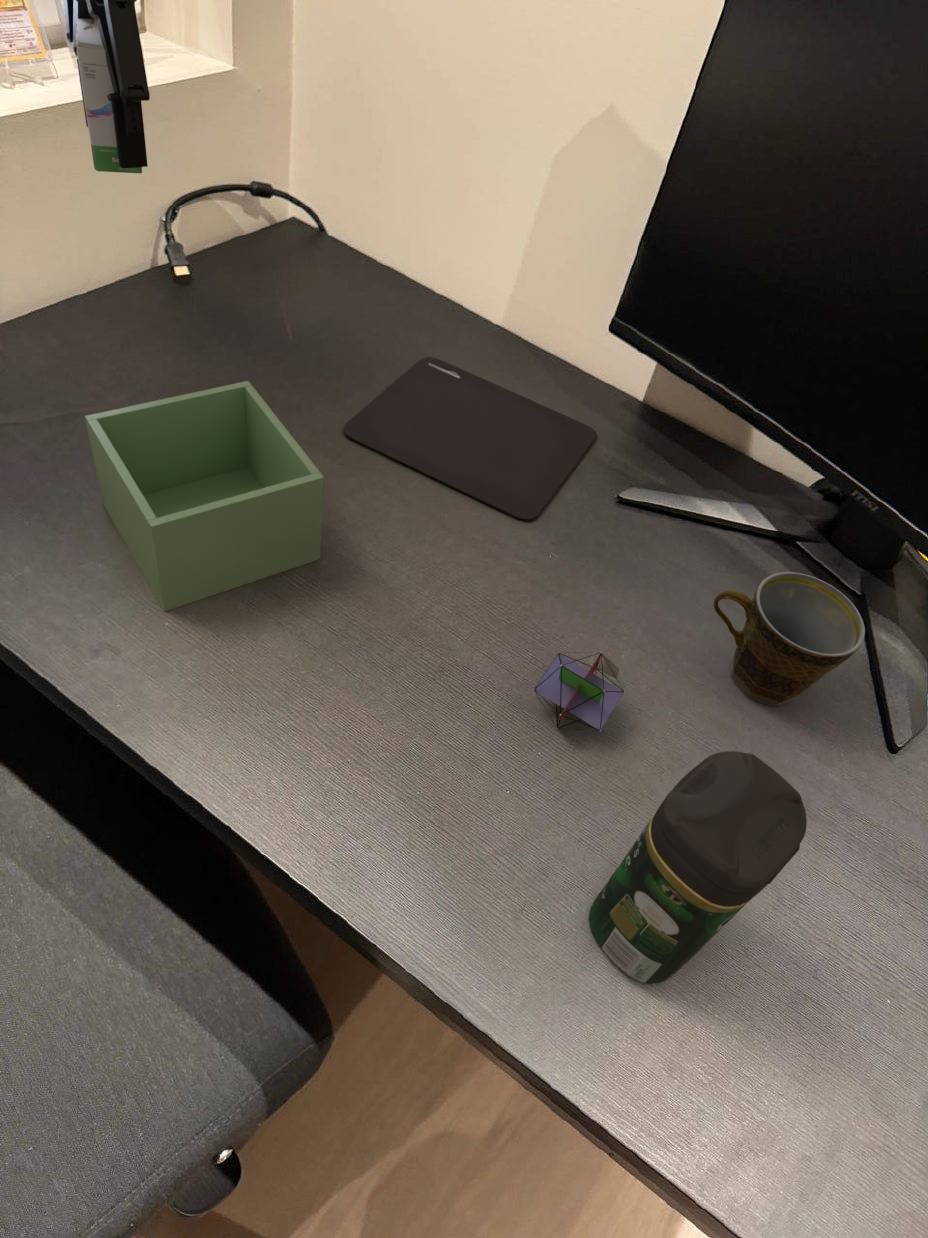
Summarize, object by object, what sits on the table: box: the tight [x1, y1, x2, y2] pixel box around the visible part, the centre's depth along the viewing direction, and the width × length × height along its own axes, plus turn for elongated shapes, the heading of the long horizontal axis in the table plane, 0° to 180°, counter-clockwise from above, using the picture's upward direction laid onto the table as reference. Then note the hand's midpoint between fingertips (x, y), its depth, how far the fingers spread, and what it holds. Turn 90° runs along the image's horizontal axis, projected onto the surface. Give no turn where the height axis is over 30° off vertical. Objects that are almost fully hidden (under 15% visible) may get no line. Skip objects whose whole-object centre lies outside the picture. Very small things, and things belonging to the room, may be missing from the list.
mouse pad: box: [342, 356, 597, 521], centre depth 100 cm, size 25×21×1 cm
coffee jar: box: [588, 750, 808, 985], centre depth 57 cm, size 10×8×19 cm
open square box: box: [84, 380, 325, 612], centre depth 79 cm, size 16×16×10 cm
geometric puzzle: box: [532, 651, 626, 732], centre depth 73 cm, size 7×7×8 cm
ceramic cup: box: [713, 571, 866, 708], centre depth 79 cm, size 13×10×10 cm
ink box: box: [76, 18, 143, 175], centre depth 87 cm, size 8×5×12 cm, turn 16°
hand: (116, 145), depth 91 cm, fingers closed on ink box, 9 cm apart
